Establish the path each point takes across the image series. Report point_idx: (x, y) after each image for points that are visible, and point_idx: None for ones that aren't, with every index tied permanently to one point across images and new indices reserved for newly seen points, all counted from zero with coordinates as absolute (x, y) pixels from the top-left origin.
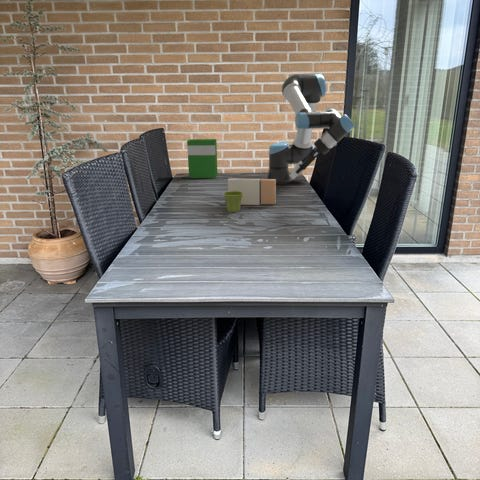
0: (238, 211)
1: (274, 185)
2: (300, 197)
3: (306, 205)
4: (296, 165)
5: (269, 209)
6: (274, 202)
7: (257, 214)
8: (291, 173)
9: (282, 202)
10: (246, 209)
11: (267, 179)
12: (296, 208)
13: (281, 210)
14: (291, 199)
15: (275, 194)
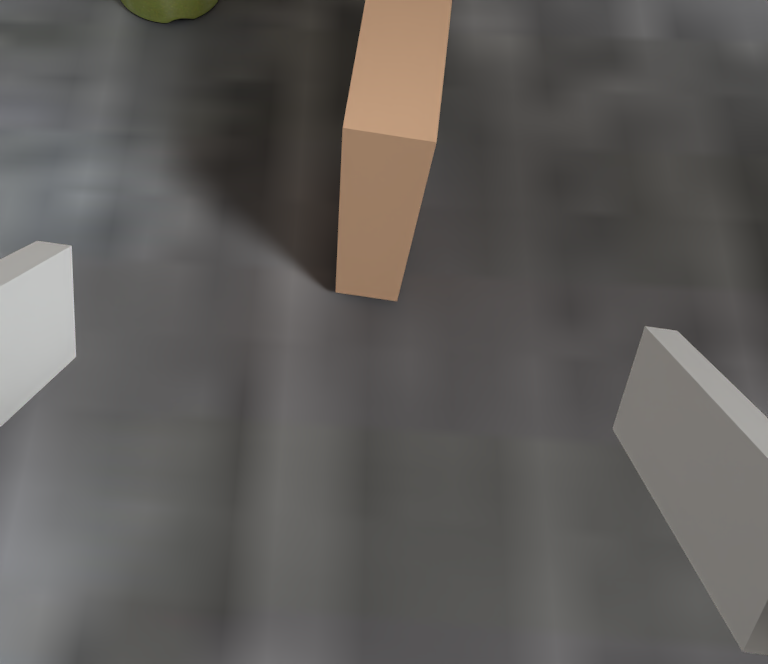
0: (132, 11)
1: (342, 168)
2: (701, 600)
3: (318, 648)
4: (711, 406)
5: (185, 242)
6: (337, 279)
7: (27, 140)
8: (9, 259)
9: (454, 376)
10: (209, 69)
11: (417, 43)
12: (191, 511)
13: (131, 348)
14: (592, 482)
15: (395, 255)
